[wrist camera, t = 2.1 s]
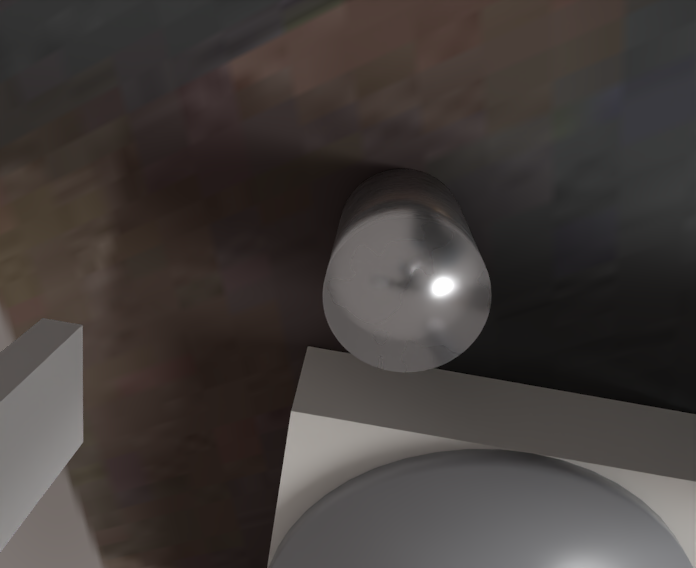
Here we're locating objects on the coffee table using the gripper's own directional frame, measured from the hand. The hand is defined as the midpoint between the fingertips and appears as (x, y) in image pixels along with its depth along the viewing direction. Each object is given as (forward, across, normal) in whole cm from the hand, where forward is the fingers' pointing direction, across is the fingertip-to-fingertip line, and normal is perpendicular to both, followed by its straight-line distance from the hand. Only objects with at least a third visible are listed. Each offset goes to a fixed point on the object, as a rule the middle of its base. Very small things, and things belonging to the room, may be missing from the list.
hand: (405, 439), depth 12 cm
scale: (+14, +6, -16) cm, 22 cm away
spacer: (+14, 0, 0) cm, 14 cm away
